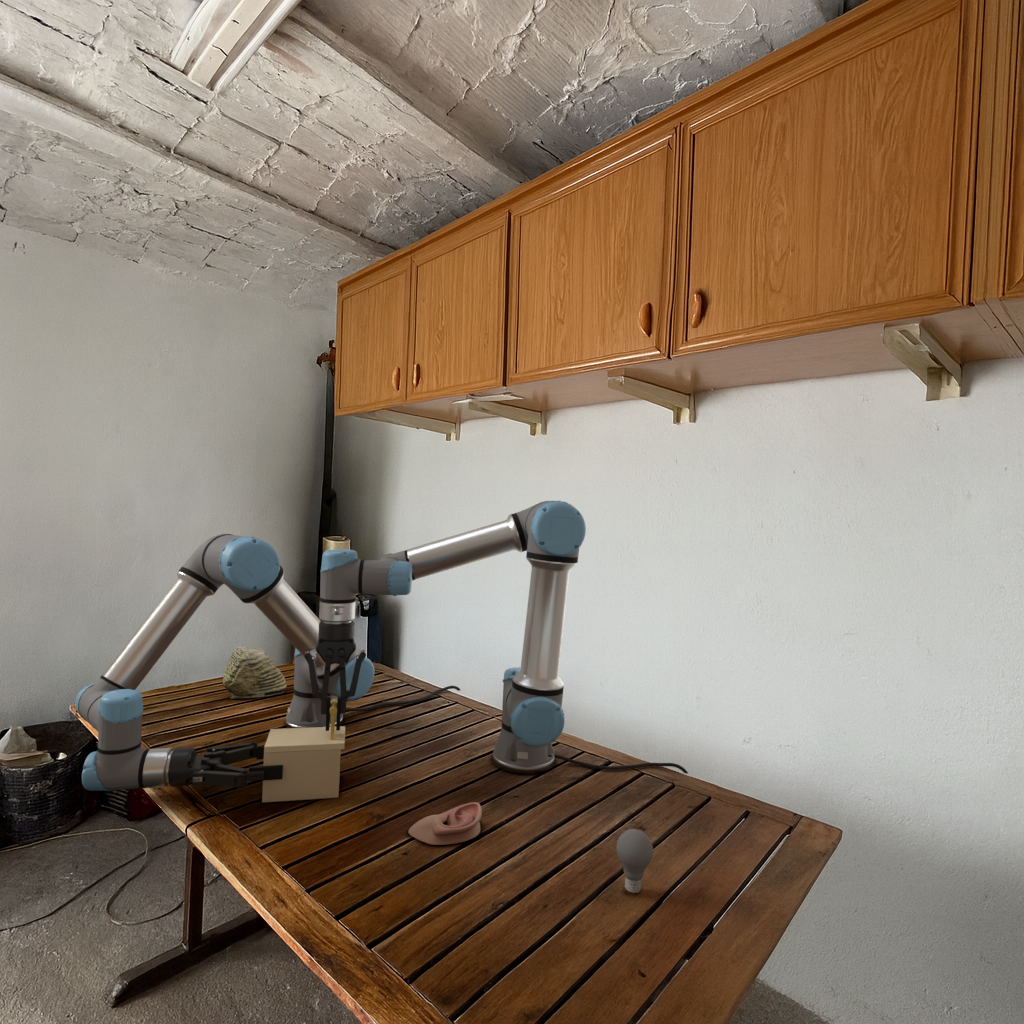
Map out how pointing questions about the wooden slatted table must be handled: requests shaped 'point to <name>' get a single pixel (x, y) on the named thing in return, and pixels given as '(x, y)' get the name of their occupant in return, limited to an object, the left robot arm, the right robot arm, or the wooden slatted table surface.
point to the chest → (303, 775)
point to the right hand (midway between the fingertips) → (332, 728)
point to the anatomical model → (449, 825)
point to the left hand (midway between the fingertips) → (285, 761)
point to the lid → (307, 737)
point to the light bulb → (634, 857)
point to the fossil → (252, 674)
